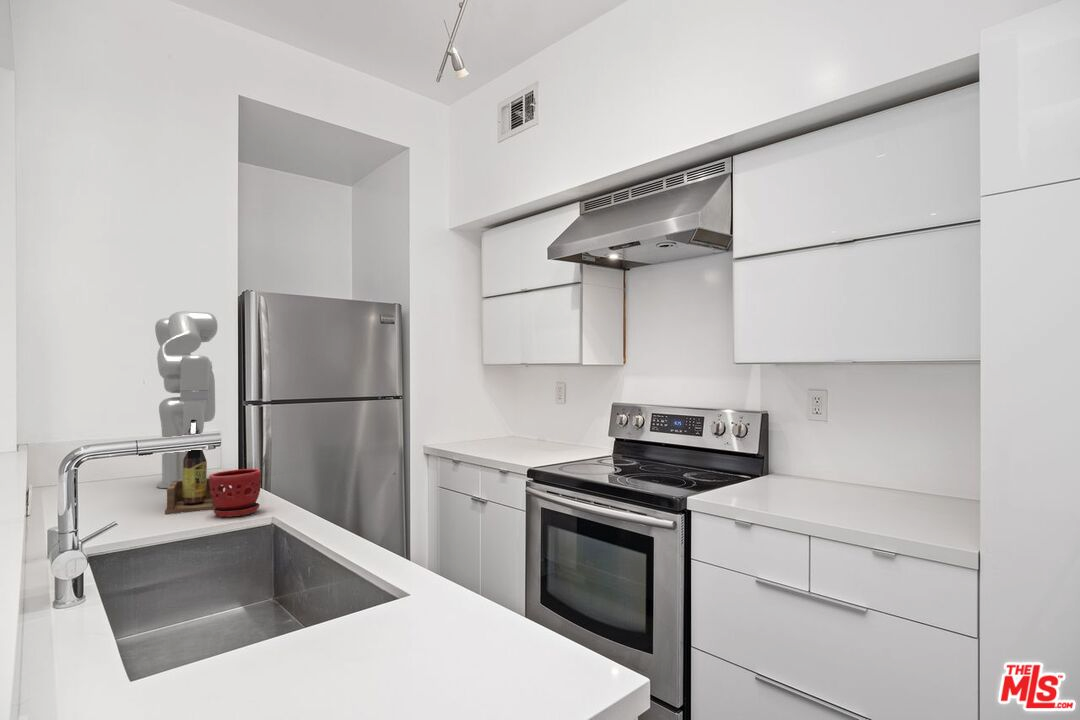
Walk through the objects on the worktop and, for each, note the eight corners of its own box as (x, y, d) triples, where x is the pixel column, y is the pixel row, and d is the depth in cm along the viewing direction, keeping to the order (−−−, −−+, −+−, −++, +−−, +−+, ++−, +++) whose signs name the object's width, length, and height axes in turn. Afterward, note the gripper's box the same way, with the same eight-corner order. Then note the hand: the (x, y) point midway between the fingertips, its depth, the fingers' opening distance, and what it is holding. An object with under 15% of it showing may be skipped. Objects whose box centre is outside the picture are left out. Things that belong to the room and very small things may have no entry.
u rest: (170, 504, 179) (170, 481, 179) (222, 499, 185) (222, 477, 186) (164, 514, 167) (164, 489, 167) (220, 508, 173) (220, 484, 173)
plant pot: (265, 506, 175) (264, 466, 175) (255, 517, 162) (255, 474, 162) (216, 510, 171) (216, 469, 172) (203, 521, 159) (203, 476, 159)
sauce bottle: (198, 504, 172) (198, 437, 172) (177, 504, 173) (177, 437, 172) (211, 499, 179) (211, 434, 179) (191, 498, 179) (191, 434, 179)
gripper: (182, 395, 182) (182, 454, 182) (177, 398, 167) (177, 461, 167) (210, 395, 185) (210, 452, 185) (207, 397, 170) (207, 459, 170)
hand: (194, 456), depth 176 cm, fingers closed on sauce bottle, 5 cm apart
